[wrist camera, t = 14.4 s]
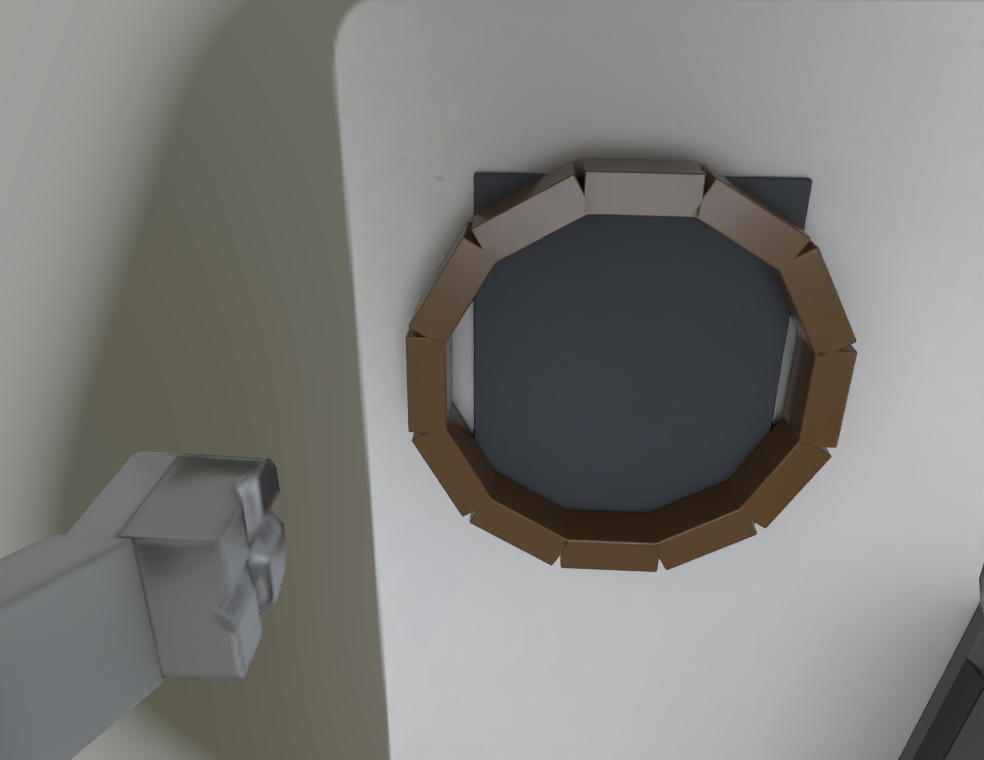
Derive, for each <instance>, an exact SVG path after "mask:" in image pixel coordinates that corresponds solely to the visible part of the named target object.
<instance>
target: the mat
mask: <svg viewBox="0 0 984 760" xmlns="http://www.w3.org/2000/svg"><path fill="white" fill-rule="evenodd" d="M545 175H547V174H527V173H475V174H474V216H475V213H477V212H479V211H481V210H482V209H484V208H486V207H488V206H490V205H492V204H493V203H495V202H497V201H499V200H501V199H503V198H505V197H506V196H508V195H510V194H512V193H514V192H516V191H517V190H519V189H521V188H523V187H525V186H527V185H528V184H530V183H532V182H534V181H536V180H538V179H540V178H541V177H543V176H545ZM579 176H580V178H581V174H579ZM725 178H727V179H728V180H730V181H731V182H733V183H734V184H736V185H737V186H739V187H741V188H742V189H744V190H745V191H747V192H748V193H750V194H751V195H753V196H754V197H756V198H757V199H759V200H761V201H762V202H764V203H765V204H767V205H768V206H770V207H771V208H773V209H774V210H776V211H777V212H779V213H780V214H782V215H784V216H785V217H787V218H788V219H790V220H791V221H793V222H794V223H795V224H796V225H797V226H798V227H799V228H800V229H801V230H803V231H804V226H805V220H806V215H807V209H808V203H809V197H810V191H811V185H812V180H811V179H809V178H767V177H725ZM789 316H790V312H789V310H788V308H787V305H786V303H785V301H784V298H783V296H782V294H781V292H780V289H779V287H778V285H777V282H776V280H775V278H774V276H773V273H772V271H771V269H770V266H769V265H768V264H767V263H765V262H764V261H762V260H761V259H759V258H757V257H756V256H754V255H753V254H751V253H750V252H748V251H746V250H745V249H743V248H742V247H740V246H739V245H737V244H735V243H734V242H732V241H731V240H729V239H727V238H726V237H724V236H723V235H721V234H720V233H718V232H716V231H715V230H713V229H712V228H710V227H709V226H707V225H705V224H704V223H702V222H701V221H699V220H698V219H696V218H690V217H654V216H617V215H587V216H585V217H583V218H581V219H579V220H577V221H575V222H573V223H571V224H570V225H568V226H566V227H564V228H562V229H560V230H558V231H556V232H554V233H552V234H550V235H549V236H547V237H545V238H543V239H541V240H539V241H537V242H535V243H533V244H531V245H529V246H527V247H526V248H524V249H522V250H520V251H518V252H516V253H514V254H512V255H510V256H508V257H506V258H504V259H503V260H501V261H499V262H497V263H496V264H495V266H494V267H493V269H492V270H491V272H490V274H489V275H488V277H487V278H486V280H485V282H484V283H483V285H482V286H481V288H480V290H479V291H478V293H477V294H476V296H475V298H474V429H475V441H476V443H477V444H478V446H479V447H480V449H481V451H482V452H483V454H484V455H485V457H486V458H487V460H488V462H489V463H490V465H491V466H492V468H493V469H494V471H495V472H497V473H499V474H501V475H503V476H505V477H507V478H508V479H510V480H512V481H514V482H516V483H518V484H519V485H521V486H523V487H525V488H527V489H529V490H531V491H532V492H534V493H536V494H538V495H540V496H542V497H544V498H545V499H547V500H549V501H551V502H553V503H555V504H556V505H558V506H560V507H562V508H564V509H566V510H588V511H613V512H638V513H650V512H653V511H655V510H658V509H660V508H662V507H665V506H667V505H670V504H672V503H674V502H677V501H679V500H682V499H684V498H686V497H689V496H691V495H694V494H696V493H698V492H701V491H703V490H706V489H708V488H710V487H713V486H715V485H717V484H720V483H722V482H725V481H727V480H729V479H730V477H731V476H732V475H733V474H734V473H735V472H736V470H737V469H738V468H739V467H740V466H741V465H742V463H743V462H744V461H745V460H746V459H747V458H748V457H749V455H750V454H751V453H752V452H753V451H754V450H755V448H756V447H757V446H758V445H759V444H760V443H761V441H762V440H763V439H764V438H765V437H766V436H767V435H768V433H769V432H770V430H771V424H772V418H773V412H774V406H775V400H776V394H777V388H778V382H779V376H780V370H781V364H782V358H783V352H784V346H785V340H786V334H787V328H788V322H789ZM753 523H754V525H755V522H753Z"/></svg>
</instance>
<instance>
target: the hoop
mask: <svg viewBox="0 0 984 760" xmlns="http://www.w3.org/2000/svg"><path fill="white" fill-rule="evenodd" d="M587 215H617V216H654V217H690V218H696V219H698V220H699V221H701V222H702V223H704V224H705V225H707V226H709V227H710V228H712V229H713V230H715V231H716V232H718V233H720V234H721V235H723V236H724V237H726V238H727V239H729V240H731V241H732V242H734V243H735V244H737V245H739V246H740V247H742V248H743V249H745V250H746V251H748V252H750V253H751V254H753V255H754V256H756V257H757V258H759V259H761V260H762V261H764V262H765V263H767V264H768V265H769V266H770V269H771V271H772V273H773V276H774V278H775V280H776V282H777V285H778V287H779V289H780V292H781V294H782V296H783V298H784V301H785V303H786V305H787V308H788V310H789V312H790V314H791V317H792V319H793V321H794V324H795V326H796V328H797V330H798V333H799V335H798V340H797V345H796V351H795V356H794V362H793V367H792V373H791V378H790V384H789V389H788V394H787V400H786V405H785V411H784V416H783V417H782V418H781V419H780V421H779V422H778V423H777V424H776V425H775V426H774V428H773V429H772V430H771V431H770V432H769V433H768V435H767V436H766V437H765V438H764V439H763V440H762V441H761V443H760V444H759V445H758V446H757V447H756V448H755V450H754V451H753V452H752V453H751V454H750V455H749V457H748V458H747V459H746V460H745V461H744V462H743V463H742V465H741V466H740V467H739V468H738V469H737V470H736V472H735V473H734V474H733V475H732V476H731V477H730V479H729V480H727V481H725V482H722V483H720V484H717V485H715V486H713V487H710V488H708V489H706V490H703V491H701V492H698V493H696V494H694V495H691V496H689V497H686V498H684V499H682V500H679V501H677V502H674V503H672V504H670V505H667V506H665V507H662V508H660V509H658V510H655V511H653V512H650V513H638V512H613V511H588V510H566V509H564V508H562V507H560V506H558V505H556V504H555V503H553V502H551V501H549V500H547V499H545V498H544V497H542V496H540V495H538V494H536V493H534V492H532V491H531V490H529V489H527V488H525V487H523V486H521V485H519V484H518V483H516V482H514V481H512V480H510V479H508V478H507V477H505V476H503V475H501V474H499V473H497V472H495V471H494V469H493V468H492V466H491V465H490V463H489V462H488V460H487V458H486V457H485V455H484V454H483V452H482V451H481V449H480V447H479V446H478V444H477V443H476V441H475V439H474V438H473V436H472V435H471V433H470V432H469V430H468V428H467V427H466V425H465V424H464V422H463V421H462V419H461V417H460V416H459V414H458V413H457V411H456V410H455V408H454V406H453V405H452V333H453V331H454V329H455V328H456V326H457V325H458V323H459V321H460V320H461V318H462V317H463V315H464V313H465V312H466V310H467V309H468V307H469V306H470V304H471V302H472V301H473V299H474V298H475V296H476V294H477V293H478V291H479V290H480V288H481V286H482V285H483V283H484V282H485V280H486V278H487V277H488V275H489V274H490V272H491V270H492V269H493V267H494V266H495V264H496V263H497V262H499V261H501V260H503V259H504V258H506V257H508V256H510V255H512V254H514V253H516V252H518V251H520V250H522V249H524V248H526V247H527V246H529V245H531V244H533V243H535V242H537V241H539V240H541V239H543V238H545V237H547V236H549V235H550V234H552V233H554V232H556V231H558V230H560V229H562V228H564V227H566V226H568V225H570V224H571V223H573V222H575V221H577V220H579V219H581V218H583V217H585V216H587ZM810 239H811V238H810V237H809V236H808V235H807V234H806V233H805V232H804V231H803V230H801V229H800V228H799V227H798V226H797V225H796V224H795V223H794V222H793V221H791V220H790V219H788V218H787V217H785V216H784V215H782V214H780V213H779V212H777V211H776V210H774V209H773V208H771V207H770V206H768V205H767V204H765V203H764V202H762V201H761V200H759V199H757V198H756V197H754V196H753V195H751V194H750V193H748V192H747V191H745V190H744V189H742V188H741V187H739V186H737V185H736V184H734V183H733V182H731V181H730V180H728V179H727V178H725V177H724V176H722V175H721V174H719V173H718V172H716V171H714V170H713V169H711V168H710V167H708V166H707V165H705V166H704V167H703V168H702V169H701V168H700V167H699V166H698V165H697V164H696V163H695V162H694V161H663V160H623V159H582V167H581V178H580V176H579V174H578V172H577V170H576V168H575V166H574V165H573V163H572V162H569V163H567V164H565V165H564V166H562V167H560V168H558V169H556V170H554V171H552V172H551V173H549V174H547V175H545V176H543V177H541V178H540V179H538V180H536V181H534V182H532V183H530V184H528V185H527V186H525V187H523V188H521V189H519V190H517V191H516V192H514V193H512V194H510V195H508V196H506V197H505V198H503V199H501V200H499V201H497V202H495V203H493V204H492V205H490V206H488V207H486V208H484V209H482V210H481V211H479V212H477V213H475V216H474V220H473V224H472V223H470V222H468V221H467V222H466V224H465V225H464V227H463V229H462V230H461V232H460V234H459V235H458V237H457V239H456V240H455V242H454V244H453V245H452V247H451V249H450V251H449V252H448V254H447V256H446V257H445V259H444V261H443V262H442V264H441V266H440V267H439V269H438V271H437V272H436V274H435V276H434V277H433V279H432V281H431V282H430V284H429V286H428V287H427V289H426V291H425V292H424V294H423V296H422V297H421V299H420V301H419V302H418V304H417V306H416V308H415V311H414V314H413V316H412V319H411V322H410V324H409V330H408V333H407V336H406V360H407V394H408V427H409V432H414V435H413V438H412V442H413V443H414V445H415V446H416V448H417V449H418V451H419V452H420V454H421V455H422V457H423V458H424V460H425V461H426V463H427V464H428V466H429V467H430V469H431V470H432V472H433V473H434V475H435V476H436V478H437V479H438V481H439V482H440V484H441V485H442V487H443V488H444V490H445V491H446V493H447V494H448V496H449V497H450V499H451V500H452V502H453V503H454V505H455V506H456V508H457V509H458V511H459V512H460V514H461V515H462V516H465V515H467V514H470V513H471V516H470V523H471V524H473V525H475V526H477V527H479V528H481V529H483V530H485V531H487V532H489V533H490V534H492V535H494V536H496V537H498V538H500V539H502V540H504V541H506V542H508V543H510V544H511V545H513V546H515V547H517V548H519V549H521V550H523V551H525V552H527V553H529V554H531V555H532V556H534V557H536V558H538V559H540V560H542V561H544V562H546V563H548V564H550V565H553V563H554V562H555V561H556V560H557V558H558V557H559V556H560V564H561V568H575V569H599V570H622V571H645V572H656V571H657V568H658V560H659V559H660V560H661V562H662V564H663V566H664V567H665V569H666V570H669V569H671V568H674V567H676V566H679V565H681V564H684V563H686V562H689V561H691V560H694V559H696V558H699V557H701V556H704V555H706V554H709V553H711V552H714V551H717V550H719V549H722V548H724V547H727V546H729V545H732V544H734V543H737V542H739V541H742V540H744V539H747V538H749V537H752V536H754V535H756V534H757V531H756V528H755V526H754V523H753V522H755V523H757V524H758V525H760V526H762V527H764V528H767V527H768V526H769V524H770V523H771V522H772V521H773V520H774V519H775V518H776V517H777V516H778V515H779V514H780V512H781V511H782V510H783V509H784V508H785V507H786V506H787V505H788V504H789V503H790V502H791V500H792V499H793V498H794V497H795V496H796V495H797V494H798V493H799V492H800V491H801V489H802V488H803V487H804V486H805V485H806V484H807V483H808V482H809V481H810V480H811V479H812V477H813V476H814V475H815V474H816V473H817V472H818V471H819V470H820V469H821V468H822V467H823V465H824V464H825V463H826V462H827V461H828V460H829V459H830V458H831V455H830V453H829V451H828V450H827V448H826V447H833V448H835V447H837V443H838V439H839V434H840V430H841V425H842V420H843V416H844V411H845V407H846V402H847V397H848V393H849V388H850V384H851V379H852V374H853V370H854V365H855V361H856V356H857V351H856V350H855V349H854V348H853V346H852V345H851V344H853V343H855V342H856V338H855V336H854V333H853V331H852V328H851V326H850V323H849V321H848V318H847V316H846V314H845V311H844V309H843V306H842V304H841V301H840V299H839V296H838V294H837V292H836V289H835V287H834V284H833V282H832V279H831V277H830V274H829V272H828V270H827V267H826V265H825V262H824V260H823V257H822V255H821V252H820V250H819V248H818V247H817V246H816V245H815V244H814V243H813V242H812V241H811V240H810Z"/></svg>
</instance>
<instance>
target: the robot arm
mask: <svg viewBox="0 0 984 760" xmlns="http://www.w3.org/2000/svg"><path fill="white" fill-rule="evenodd" d="M279 492H280V489H279V482H278V476H277V469H276V466H275V465H274V463H273V462H272V460H271V459H266V458H251V457H234V456H218V455H217V456H216V455H201V454H181V453H164V452H141V453H137V454H133V455H132V456H131V457H130V459H129V460H128V461H127V462H126V464H125V465H124V466H123V467H122V468H121V469H120V471H119V472H118V473H117V474H116V475H115V477H114V478H113V479H112V480H111V482H110V483H109V484H108V485H107V486H106V488H105V489H104V490H103V491H102V492H101V494H100V495H99V496H98V497H97V498H96V500H95V501H94V502H93V503H92V504H91V506H90V507H89V508H88V509H87V510H86V512H85V513H84V514H83V515H82V516H81V518H80V519H79V520H78V521H77V522H76V524H75V525H74V526H73V527H72V528H71V530H70V531H69V532H68V533H67V535H50V536H48V537H46V538H44V539H42V540H40V541H37V542H35V543H33V544H31V545H29V546H27V547H25V548H23V549H20V550H18V551H16V552H14V553H12V554H10V555H8V556H6V557H3V558H2V559H0V760H71V759H72V758H73V757H74V756H75V755H77V754H78V753H79V752H80V751H81V750H83V749H84V748H85V747H86V746H87V745H89V744H90V743H91V742H92V741H93V740H95V739H96V738H97V737H98V736H99V735H100V734H102V733H103V732H104V731H105V730H107V729H108V728H109V727H110V726H111V725H112V724H114V723H115V722H116V721H117V720H119V719H120V718H121V717H122V716H123V715H124V714H126V713H127V712H128V711H129V710H130V709H131V708H133V707H134V706H135V705H136V704H137V703H139V702H140V701H141V700H142V699H144V698H145V697H146V696H147V695H148V694H150V693H151V692H152V691H153V690H154V689H155V688H157V687H158V686H159V685H160V684H161V683H163V679H162V678H187V679H230V680H243V678H244V676H245V673H246V671H247V668H248V666H249V664H250V661H251V659H252V657H253V654H254V652H255V649H256V647H257V645H258V642H259V640H260V638H261V635H262V630H261V623H260V616H259V615H260V614H262V613H263V612H264V611H266V610H267V609H269V608H270V607H272V606H273V605H274V604H275V601H276V599H277V596H278V593H279V591H280V588H281V585H282V579H283V574H284V568H285V562H286V538H285V529H284V523H283V522H282V521H281V520H280V519H279V518H278V517H277V516H276V515H275V513H273V511H272V510H271V509H272V507H273V505H274V503H275V501H276V499H277V497H278V495H279ZM979 584H980V603H981V606H982V609H983V612H984V564H983V568H982V571H981V574H980V578H979Z"/></svg>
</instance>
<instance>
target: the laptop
mask: <svg viewBox="0 0 984 760" xmlns="http://www.w3.org/2000/svg"><path fill="white" fill-rule="evenodd" d="M899 760H984V612H983V609H982V606H981V603H980V605H979V607H978V609H977V611H976V613H975V615H974V617H973V619H972V621H971V623H970V624H969V626H968V628H967V630H966V632H965V634H964V636H963V638H962V640H961V642H960V644H959V646H958V647H957V649H956V651H955V653H954V655H953V657H952V659H951V661H950V663H949V665H948V667H947V669H946V670H945V672H944V674H943V676H942V678H941V680H940V682H939V684H938V686H937V688H936V690H935V692H934V693H933V695H932V697H931V699H930V701H929V703H928V705H927V707H926V709H925V711H924V713H923V715H922V717H921V718H920V720H919V722H918V724H917V726H916V728H915V730H914V732H913V734H912V736H911V738H910V740H909V741H908V743H907V745H906V747H905V749H904V751H903V753H902V755H901V757H900V759H899Z"/></svg>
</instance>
